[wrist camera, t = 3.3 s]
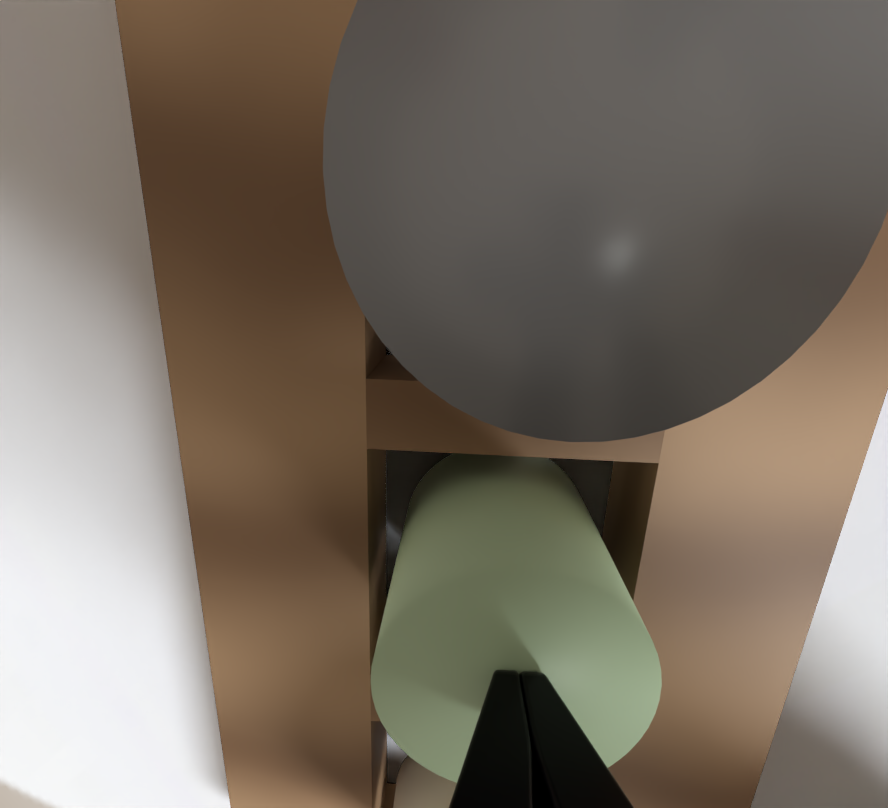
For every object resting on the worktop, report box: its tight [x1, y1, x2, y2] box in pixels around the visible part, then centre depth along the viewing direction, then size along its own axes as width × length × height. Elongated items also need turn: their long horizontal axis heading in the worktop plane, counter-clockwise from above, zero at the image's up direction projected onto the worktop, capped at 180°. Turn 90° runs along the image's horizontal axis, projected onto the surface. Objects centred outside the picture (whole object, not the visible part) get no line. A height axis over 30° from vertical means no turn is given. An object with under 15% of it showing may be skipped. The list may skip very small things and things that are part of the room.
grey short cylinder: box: [323, 0, 888, 442], centre depth 6 cm, size 5×5×5 cm
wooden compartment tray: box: [115, 0, 888, 808], centre depth 12 cm, size 26×14×2 cm, turn 178°
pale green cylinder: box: [371, 453, 662, 783], centre depth 10 cm, size 5×5×5 cm
